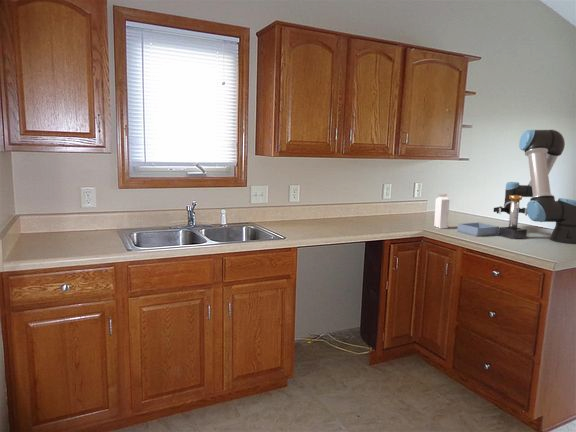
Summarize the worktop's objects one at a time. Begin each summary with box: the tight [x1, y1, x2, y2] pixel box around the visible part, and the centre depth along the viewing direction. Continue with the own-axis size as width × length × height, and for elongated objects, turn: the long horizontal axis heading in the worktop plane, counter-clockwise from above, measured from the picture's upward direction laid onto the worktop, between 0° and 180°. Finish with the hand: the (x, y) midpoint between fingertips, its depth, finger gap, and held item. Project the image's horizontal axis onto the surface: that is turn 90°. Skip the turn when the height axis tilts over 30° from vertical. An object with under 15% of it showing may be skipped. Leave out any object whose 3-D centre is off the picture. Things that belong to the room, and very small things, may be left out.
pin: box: [508, 195, 523, 230], centre depth 242 cm, size 6×6×24 cm
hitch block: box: [498, 226, 528, 240], centre depth 244 cm, size 10×10×5 cm
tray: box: [457, 222, 500, 238], centre depth 254 cm, size 16×16×5 cm
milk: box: [433, 193, 450, 228], centre depth 270 cm, size 6×6×22 cm
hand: (513, 212), depth 244 cm, fingers open, 13 cm apart
